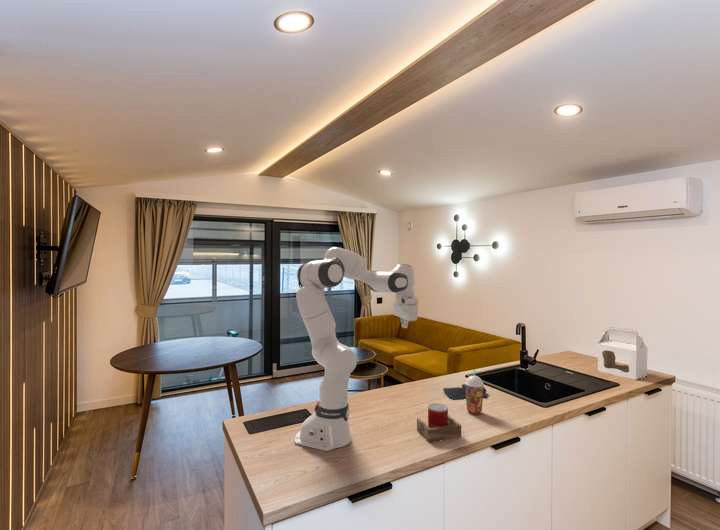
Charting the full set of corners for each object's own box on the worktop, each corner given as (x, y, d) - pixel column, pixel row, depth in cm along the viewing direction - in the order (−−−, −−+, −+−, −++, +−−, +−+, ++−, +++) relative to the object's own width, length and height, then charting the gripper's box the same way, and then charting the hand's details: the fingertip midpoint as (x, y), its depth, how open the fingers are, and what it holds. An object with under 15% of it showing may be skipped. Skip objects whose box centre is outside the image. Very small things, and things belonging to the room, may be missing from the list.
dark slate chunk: (439, 391, 208) (439, 382, 208) (477, 388, 212) (477, 380, 212) (451, 401, 193) (451, 392, 193) (491, 398, 197) (491, 389, 197)
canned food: (448, 438, 153) (448, 411, 153) (427, 436, 155) (427, 409, 154) (447, 429, 161) (447, 403, 160) (428, 428, 162) (428, 402, 162)
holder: (416, 430, 160) (416, 418, 160) (447, 426, 164) (447, 414, 164) (428, 442, 149) (428, 430, 149) (461, 437, 154) (461, 425, 154)
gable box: (597, 370, 243) (597, 327, 243) (608, 367, 250) (608, 325, 249) (636, 380, 224) (637, 332, 223) (647, 376, 231) (648, 330, 230)
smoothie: (461, 410, 181) (461, 368, 180) (475, 408, 184) (476, 366, 183) (472, 417, 173) (472, 373, 172) (487, 414, 176) (487, 371, 175)
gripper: (390, 296, 190) (390, 324, 190) (407, 301, 170) (407, 332, 170) (402, 296, 191) (402, 323, 192) (420, 300, 172) (420, 331, 172)
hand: (404, 327), depth 181 cm, fingers closed
